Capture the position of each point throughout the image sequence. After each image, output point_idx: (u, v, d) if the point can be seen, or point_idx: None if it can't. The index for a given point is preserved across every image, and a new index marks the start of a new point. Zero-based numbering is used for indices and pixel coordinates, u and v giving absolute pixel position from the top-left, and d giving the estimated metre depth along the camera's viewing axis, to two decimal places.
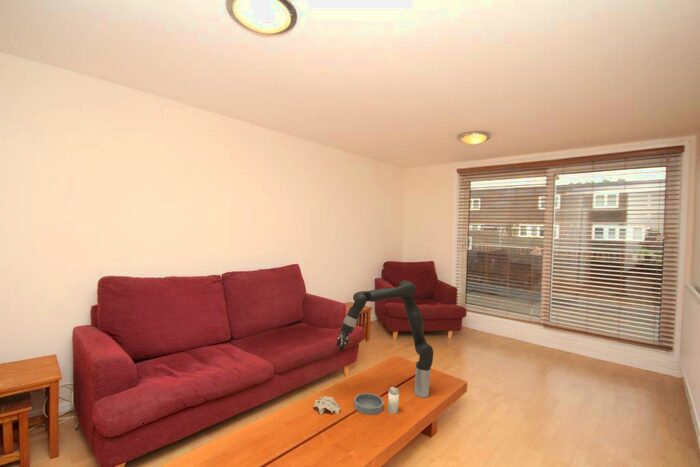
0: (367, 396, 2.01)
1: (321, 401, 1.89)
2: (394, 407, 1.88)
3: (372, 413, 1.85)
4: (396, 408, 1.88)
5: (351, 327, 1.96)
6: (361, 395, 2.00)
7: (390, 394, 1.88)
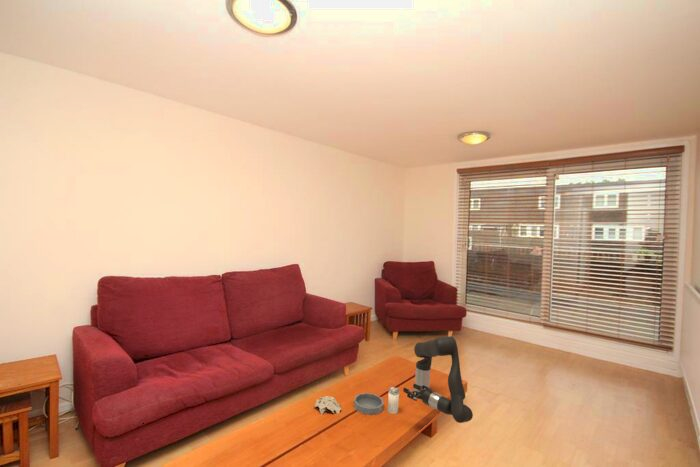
0: (367, 396, 2.01)
1: (322, 401, 1.90)
2: (394, 407, 1.88)
3: (372, 413, 1.85)
4: (396, 408, 1.88)
5: None
6: (361, 395, 2.00)
7: (390, 394, 1.88)
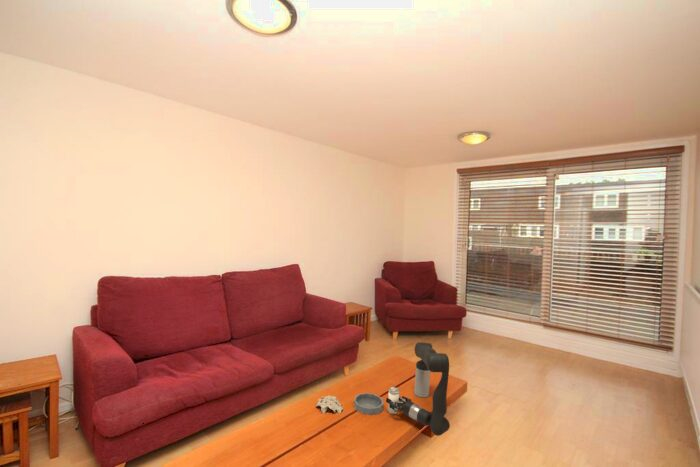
0: (367, 396, 2.01)
1: (324, 400, 1.91)
2: None
3: (372, 413, 1.85)
4: None
5: None
6: (361, 395, 2.00)
7: (390, 394, 1.88)
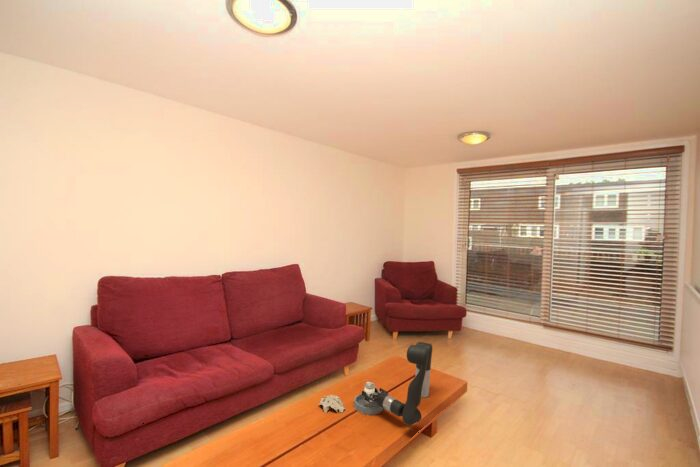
0: None
1: (326, 399, 1.92)
2: None
3: (372, 413, 1.85)
4: None
5: None
6: (361, 395, 2.00)
7: (366, 388, 1.92)
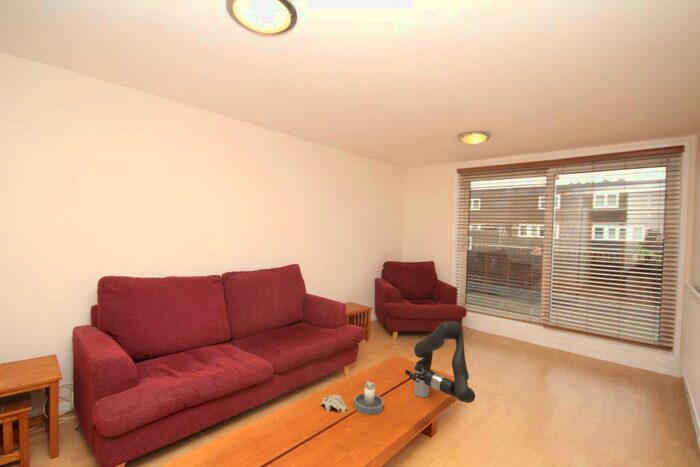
0: None
1: (329, 399, 1.92)
2: (370, 401, 1.91)
3: (372, 413, 1.85)
4: (372, 402, 1.91)
5: None
6: (361, 395, 2.00)
7: (366, 388, 1.91)
